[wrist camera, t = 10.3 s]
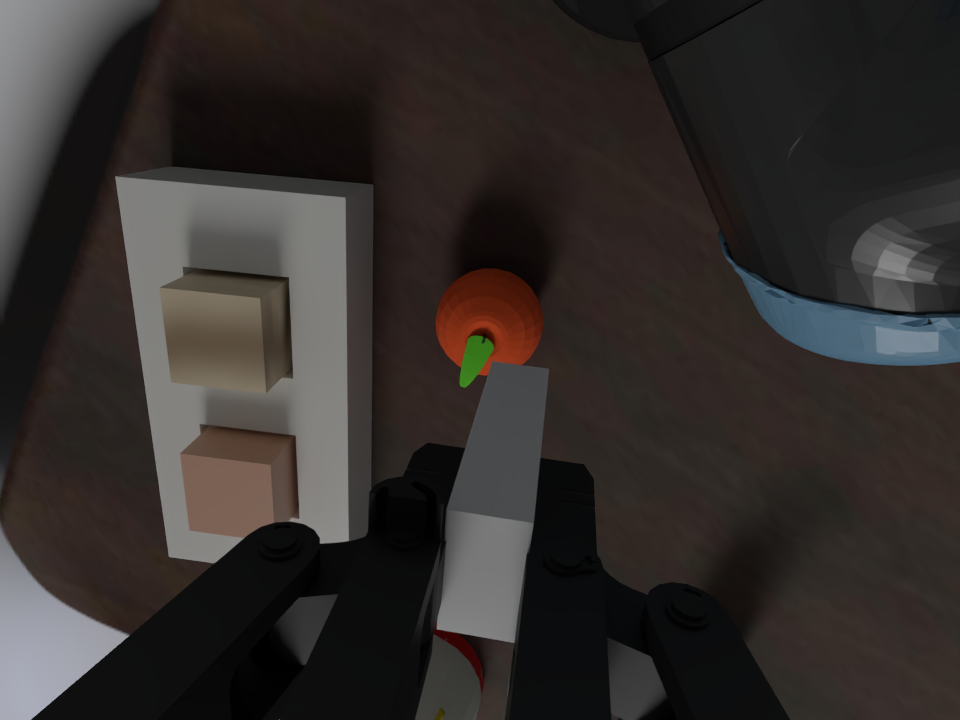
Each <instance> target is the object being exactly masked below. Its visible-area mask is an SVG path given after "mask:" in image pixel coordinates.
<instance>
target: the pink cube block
mask: <svg viewBox="0 0 960 720" xmlns="http://www.w3.org/2000/svg"><path fill="white" fill-rule="evenodd" d="M180 458H181V466H182V474H183V482H184V490H185V499H186V507H187V515H188V523H189V531H196V532H204V533H211V534H218V535H226V536H233V537H240V538H245V537H246V536H247V535H248V534H250V533H252V532H253V531H255V530H256V529H258V528H260V527H262V526H265V525H268V524H272V523H275V522H289V520H290V519H291V517H292V516H293V514H294V512H295V511H296V509H297V508H298V506H299V496H298V474H297V451H296V435H288V434H279V433H271V432H263V431H255V430H247V429H239V428H230V427H222V426H214V425H210V426H209V427H208V428H207V429H206V430H205V431H204V432H202V433H201V434H200V435H199V436H198V437H197V438H196V439H195V440H194V441H193V442H192V443H191V444H190V445H189V446H187V447H186V448H185V449H184V450H183V451H182V452H181V453H180Z"/></svg>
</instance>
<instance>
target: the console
mask: <svg viewBox="0 0 960 720" xmlns="http://www.w3.org/2000/svg"><path fill="white" fill-rule="evenodd" d="M115 178H116V185H117V192H118V199H119V206H120V213H121V220H122V227H123V234H124V241H125V248H126V255H127V262H128V270H129V277H130V284H131V291H132V298H133V305H134V312H135V319H136V326H137V333H138V340H139V347H140V354H141V362H142V369H143V376H144V383H145V390H146V397H147V404H148V411H149V418H150V425H151V432H152V439H153V446H154V454H155V461H156V468H157V475H158V482H159V489H160V496H161V503H162V510H163V517H164V524H165V531H166V538H167V545H168V553H169V557H174V558H181V559H188V560H195V561H202V562H210V563H216V562H217V561H218V560H219V559H220V558H221V557H223V556H224V555H225V554H226V553H227V552H228V551H230V550H231V549H232V548H233V547H234V546H236V545H237V544H238V543H239V542H240V541H241V540H243V539H244V538H240V537H233V536H226V535H218V534H211V533H204V532H196V531H189V523H188V515H187V507H186V499H185V490H184V482H183V474H182V466H181V458H180V453H181V452H182V451H183V450H184V449H185V448H186V447H187V446H189V445H190V444H191V443H192V442H193V441H194V440H195V439H196V438H197V437H198V436H199V435H200V434H201V433H202V432H204V431H205V430H206V429H207V428H208V427H209V426H210V425H214V426H222V427H230V428H239V429H247V430H255V431H263V432H271V433H279V434H288V435H296V451H297V474H298V496H299V506H298V508H297V509H296V511H295V512H294V514H293V516H292V517H291V519H290V520H289V522H290V521H291V522H296V523H301V524H305V525H307V526H308V527H310V528H312V529H314V530H315V532H316V533H317V535H318V536H319V538H320V544H322V543H337V542H346V541H353V540H356V539H359V538H362V537H365V536H366V534H367V532H368V508H369V492H370V491H371V462H372V320H373V184H362V183H351V182H339V181H328V180H317V179H306V178H294V177H283V176H272V175H261V174H250V173H238V172H227V171H216V170H205V169H194V168H182V167H166V168H160V169H155V170H149V171H144V172H138V173H132V174H127V175H121V176H116V177H115ZM200 268H202V269H212V270H221V271H231V272H241V273H251V274H261V275H270V276H280V277H289V293H290V315H291V338H292V361H293V367H292V368H291V369H290V370H289V371H288V372H287V373H286V374H285V375H284V376H283V377H282V378H281V379H280V380H279V381H278V382H277V383H276V384H275V385H274V386H273V387H272V388H271V389H270V390H269V391H268V392H267V393H266V394H265V393H256V392H248V391H239V390H231V389H222V388H214V387H205V386H197V385H188V384H180V383H171V377H170V369H169V361H168V353H167V345H166V337H165V329H164V321H163V313H162V305H161V297H160V289H159V288H160V287H162V286H164V285H166V284H168V283H170V282H172V281H174V280H176V279H179V278H181V277H183V276H185V275H187V274H189V273H191V272H193V271H195V270H198V269H200Z"/></svg>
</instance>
